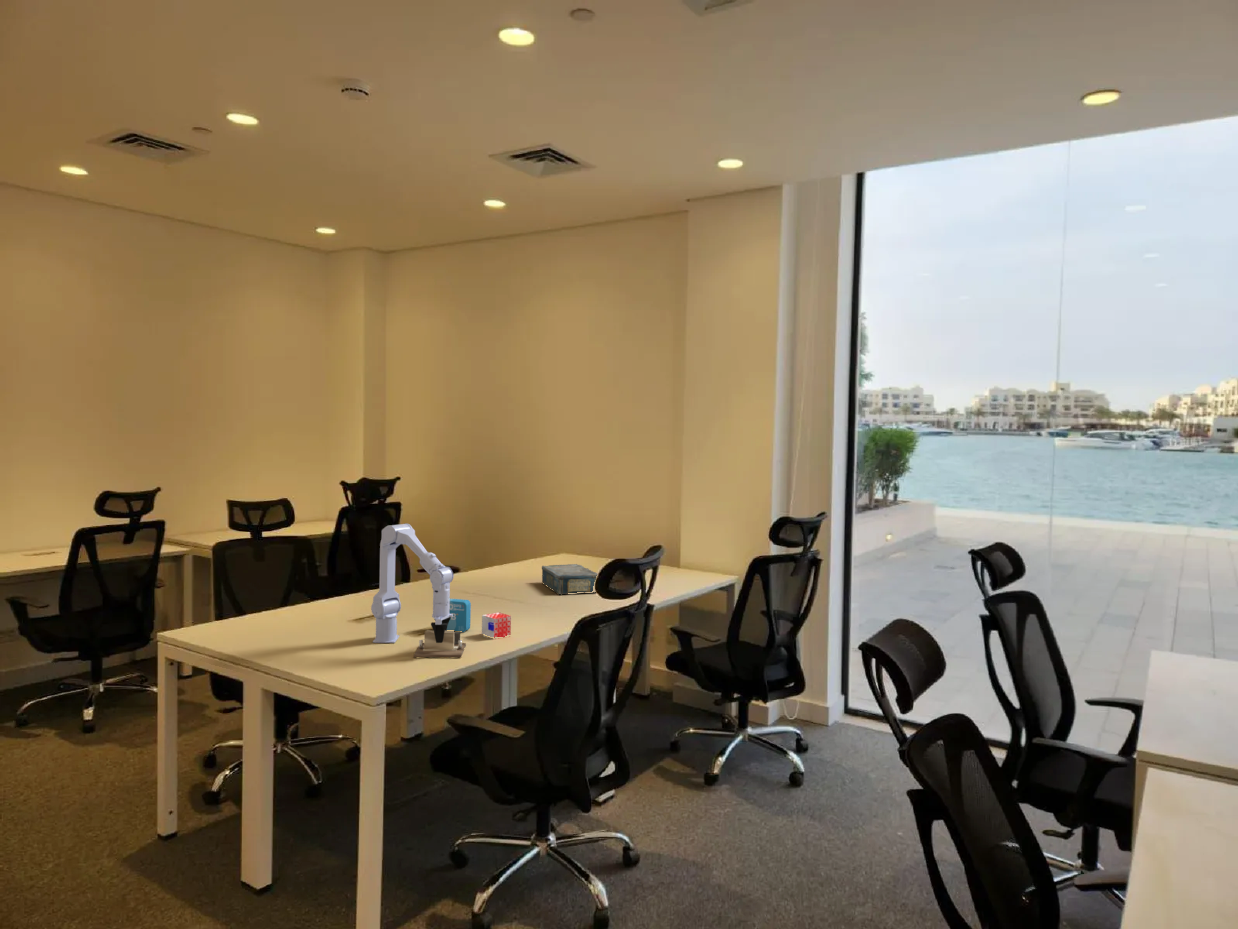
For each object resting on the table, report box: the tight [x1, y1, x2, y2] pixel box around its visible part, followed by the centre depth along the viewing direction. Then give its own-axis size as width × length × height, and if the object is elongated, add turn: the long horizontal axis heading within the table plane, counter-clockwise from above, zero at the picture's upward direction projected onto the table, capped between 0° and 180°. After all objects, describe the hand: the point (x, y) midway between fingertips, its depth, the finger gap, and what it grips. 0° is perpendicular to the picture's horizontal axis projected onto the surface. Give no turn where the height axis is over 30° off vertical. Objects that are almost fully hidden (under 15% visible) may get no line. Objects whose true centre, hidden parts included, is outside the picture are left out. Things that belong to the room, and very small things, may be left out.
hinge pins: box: [418, 639, 463, 649], centre depth 288 cm, size 1×15×3 cm, turn 95°
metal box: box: [541, 563, 599, 595], centre depth 409 cm, size 21×32×10 cm, turn 20°
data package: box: [447, 598, 472, 633], centre depth 319 cm, size 12×4×12 cm, turn 78°
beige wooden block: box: [423, 629, 454, 649], centre depth 288 cm, size 3×10×6 cm, turn 95°
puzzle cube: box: [481, 611, 512, 638], centre depth 312 cm, size 8×8×8 cm
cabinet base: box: [413, 632, 467, 658], centre depth 288 cm, size 16×16×5 cm
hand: (440, 640), depth 288 cm, fingers open, 6 cm apart
